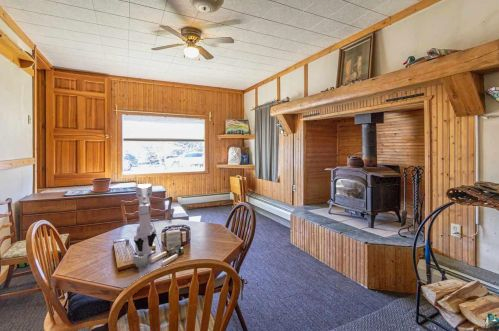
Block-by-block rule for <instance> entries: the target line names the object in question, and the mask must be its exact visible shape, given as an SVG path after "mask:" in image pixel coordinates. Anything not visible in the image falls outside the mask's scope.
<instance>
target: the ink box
mask: <svg viewBox="0 0 499 331" xmlns="http://www.w3.org/2000/svg"><path fill="white" fill-rule="evenodd" d="M165 234H166V236H165V237H166V238H165V239H166V243H165V244H166V250H167V251H168V252H169V250H170V249H171V248H173V247H175V246H178V245H180V246H181V247H182V243H181V242H182V241H181V240H182V237H181V230H180V229H173V230H166V231H165Z"/></svg>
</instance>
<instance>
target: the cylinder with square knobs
mask: <svg viewBox="0 0 499 331" xmlns="http://www.w3.org/2000/svg"><path fill="white" fill-rule="evenodd" d="M184 252H185V250H184V247H183V246H182V245H181V246H180V245H178V246H175V247H173V248H171V249H170V250H169V251H168V255H170V256H173V255H175V254H178V256H179V255H180V254H182V253H184Z"/></svg>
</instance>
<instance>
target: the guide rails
mask: <svg viewBox="0 0 499 331" xmlns="http://www.w3.org/2000/svg"><path fill="white" fill-rule="evenodd" d="M167 253H168V252H167V251H163V252H161V253H159V254H157V255H156V256H153V257H151V258H150V259H149V260H150V261H149V262H150V263H151V264H154V263H155V262H157V261H158V260H160V259H162V258H164V257H165V256H167V255H168V254H167ZM178 256H179V255H178V254H175V255H170V257H168V258H166V259H164V260H162V261H161V266H163V267H164V266H167V264H169V263H170V262H172V261H174V260H176V259H178Z"/></svg>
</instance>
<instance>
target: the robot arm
mask: <svg viewBox="0 0 499 331" xmlns="http://www.w3.org/2000/svg"><path fill="white" fill-rule="evenodd" d="M152 195H153V183H139V184H138V183H137V184H135V196H136V199H139V200H138V206H137V207H138V210H137V212H138V220H139V225H138V226H136V235H134V236H133V242H134V246H135V247H134V250H135V251H134V253H136V254H139V253H144V254H148V256H150V255H151V254H153V253H156V251H155V250H152V247H153V245H154V241H155V238H156V237H157V234H156V233H157V229H155V228H154V226H153V225H152V224H151V214H152V205H151V201H150V198H151V197H152ZM136 254H135V255H136Z"/></svg>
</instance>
